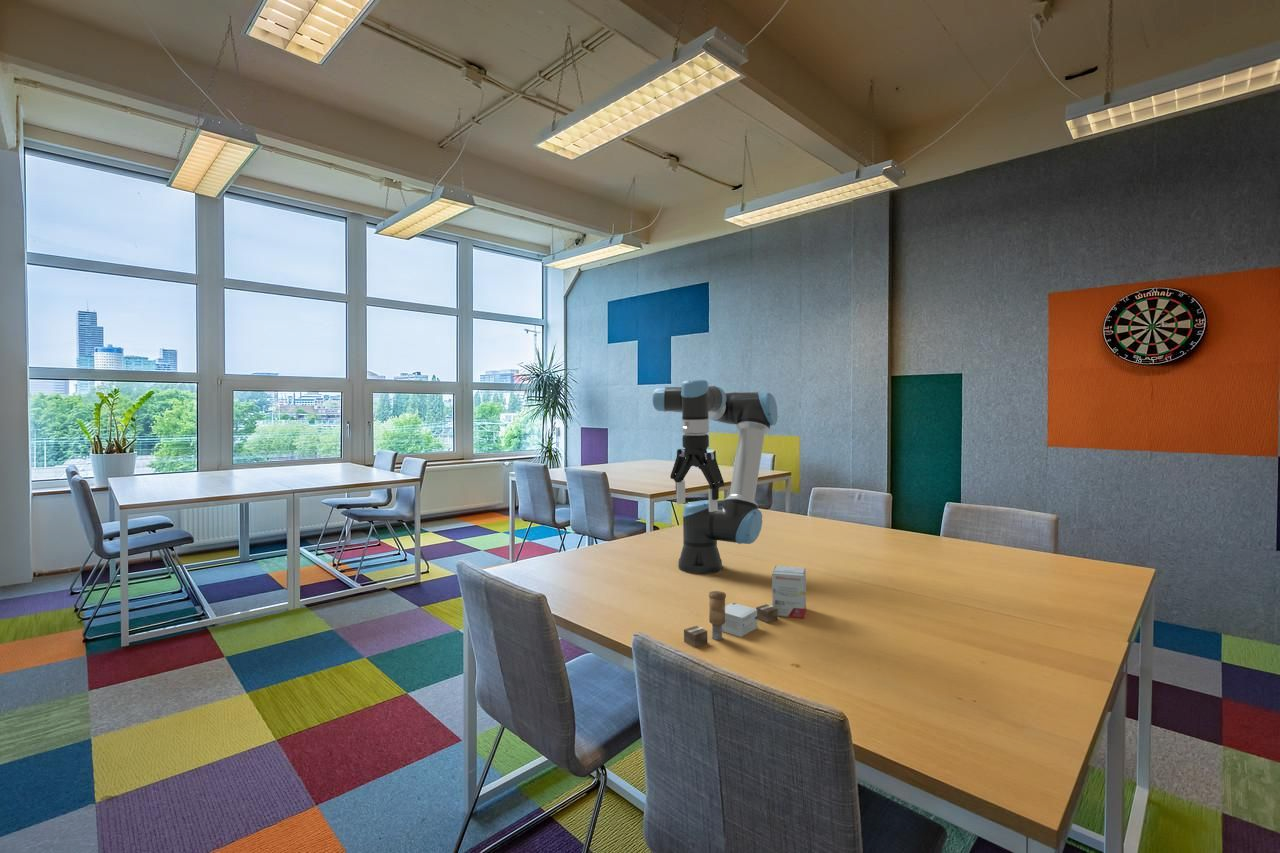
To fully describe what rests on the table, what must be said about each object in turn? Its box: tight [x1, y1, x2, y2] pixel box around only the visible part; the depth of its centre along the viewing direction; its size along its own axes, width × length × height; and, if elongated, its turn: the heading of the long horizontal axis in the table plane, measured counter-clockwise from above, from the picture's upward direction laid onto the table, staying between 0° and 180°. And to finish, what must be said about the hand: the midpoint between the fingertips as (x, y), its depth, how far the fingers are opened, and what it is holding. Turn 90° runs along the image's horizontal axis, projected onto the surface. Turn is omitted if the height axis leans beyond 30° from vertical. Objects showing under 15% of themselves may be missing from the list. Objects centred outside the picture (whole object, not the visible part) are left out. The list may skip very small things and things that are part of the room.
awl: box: [708, 590, 727, 641], centre depth 142 cm, size 4×4×11 cm
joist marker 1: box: [683, 625, 708, 648], centre depth 140 cm, size 4×4×3 cm
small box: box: [722, 602, 758, 638], centre depth 148 cm, size 8×8×5 cm
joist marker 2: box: [755, 604, 779, 624], centre depth 154 cm, size 4×4×3 cm
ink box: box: [771, 564, 807, 619], centre depth 159 cm, size 9×9×12 cm
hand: (696, 507), depth 167 cm, fingers open, 13 cm apart
